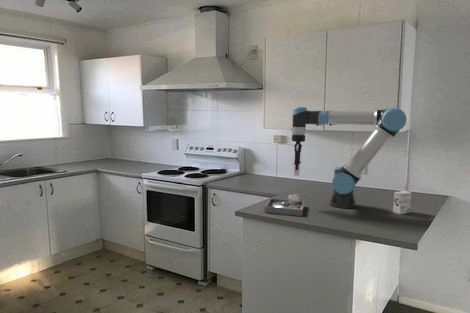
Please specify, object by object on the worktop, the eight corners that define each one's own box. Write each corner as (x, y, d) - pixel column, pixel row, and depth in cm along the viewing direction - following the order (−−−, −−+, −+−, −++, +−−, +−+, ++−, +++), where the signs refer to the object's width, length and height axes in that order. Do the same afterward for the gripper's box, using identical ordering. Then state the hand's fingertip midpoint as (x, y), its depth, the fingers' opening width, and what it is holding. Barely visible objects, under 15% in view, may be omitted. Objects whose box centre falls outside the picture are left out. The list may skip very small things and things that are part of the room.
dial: (279, 211, 199) (280, 199, 198) (267, 204, 213) (267, 192, 212) (304, 209, 205) (305, 197, 204) (290, 202, 219) (291, 191, 218)
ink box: (403, 210, 213) (404, 190, 212) (410, 212, 209) (412, 192, 207) (392, 212, 209) (394, 191, 208) (399, 214, 205) (401, 193, 203)
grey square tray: (304, 206, 217) (304, 200, 216) (301, 216, 197) (302, 209, 197) (269, 203, 221) (270, 197, 221) (264, 212, 202) (264, 206, 201)
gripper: (293, 133, 220) (291, 172, 223) (290, 135, 205) (288, 176, 208) (306, 133, 218) (304, 173, 221) (304, 135, 203) (302, 177, 206)
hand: (296, 174), depth 215 cm, fingers open, 3 cm apart
